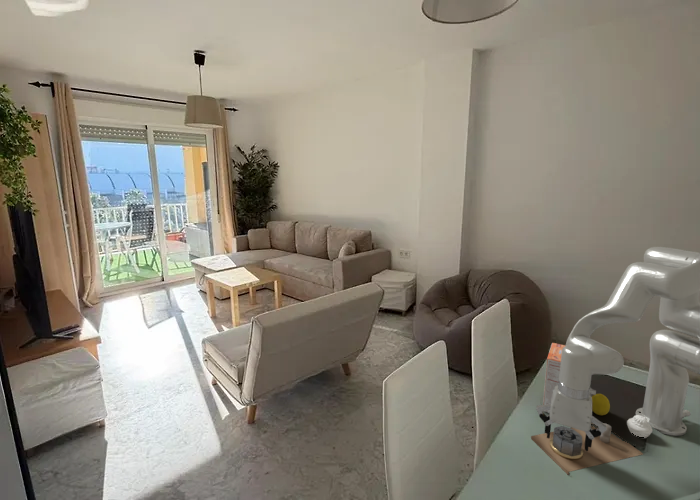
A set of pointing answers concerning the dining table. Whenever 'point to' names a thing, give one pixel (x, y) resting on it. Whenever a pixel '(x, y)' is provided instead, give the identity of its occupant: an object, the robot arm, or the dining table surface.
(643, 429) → the muffin
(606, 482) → the dining table surface
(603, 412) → the lemon
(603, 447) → the board
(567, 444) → the ring
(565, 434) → the hub
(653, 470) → the dining table surface
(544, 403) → the cracker box
